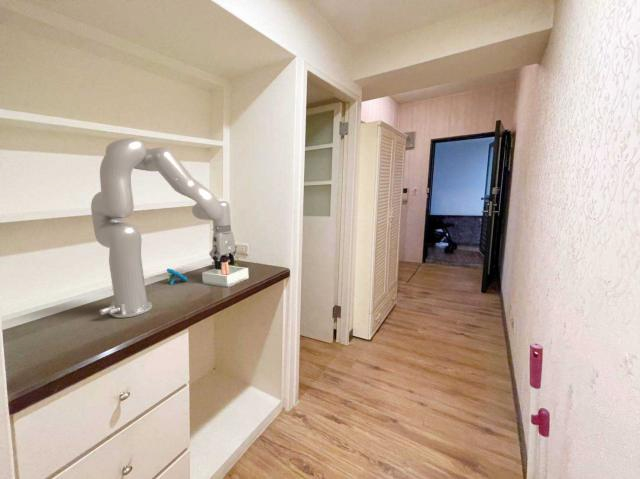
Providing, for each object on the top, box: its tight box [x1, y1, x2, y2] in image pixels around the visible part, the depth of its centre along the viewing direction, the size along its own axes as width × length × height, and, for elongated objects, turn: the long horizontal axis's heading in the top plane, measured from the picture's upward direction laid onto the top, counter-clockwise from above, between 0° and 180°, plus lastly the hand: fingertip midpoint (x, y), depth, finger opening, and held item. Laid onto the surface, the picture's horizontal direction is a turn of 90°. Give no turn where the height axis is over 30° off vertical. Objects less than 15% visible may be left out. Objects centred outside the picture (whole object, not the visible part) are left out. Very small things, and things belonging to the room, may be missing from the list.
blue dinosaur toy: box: [166, 268, 189, 285], centre depth 138 cm, size 11×6×10 cm
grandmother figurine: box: [220, 254, 230, 275], centre depth 139 cm, size 8×4×13 cm, turn 170°
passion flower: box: [211, 254, 240, 267], centre depth 160 cm, size 11×11×12 cm
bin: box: [201, 265, 250, 288], centre depth 140 cm, size 14×14×5 cm
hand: (224, 266), depth 139 cm, fingers closed on grandmother figurine, 7 cm apart
